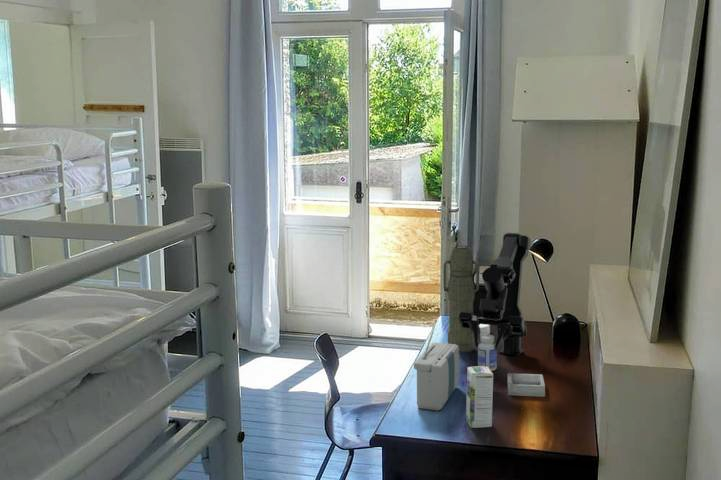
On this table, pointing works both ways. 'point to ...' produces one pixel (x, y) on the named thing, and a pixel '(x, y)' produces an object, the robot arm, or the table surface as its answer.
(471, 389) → the syrup box
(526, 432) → the table surface
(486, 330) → the white round tub
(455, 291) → the thermos
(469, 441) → the table surface
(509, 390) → the housing
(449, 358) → the stereo radio cassette player
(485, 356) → the pill bottle
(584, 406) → the table surface
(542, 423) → the table surface
